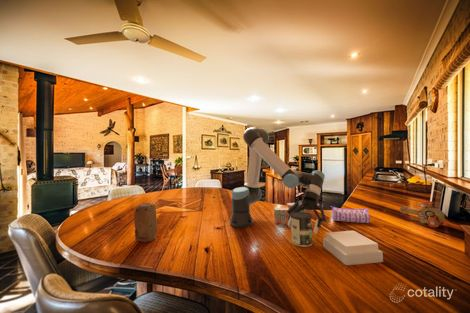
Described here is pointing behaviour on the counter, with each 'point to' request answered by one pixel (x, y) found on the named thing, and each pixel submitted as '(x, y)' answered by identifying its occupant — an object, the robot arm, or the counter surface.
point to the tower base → (353, 256)
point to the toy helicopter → (426, 214)
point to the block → (145, 222)
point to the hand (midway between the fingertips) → (301, 229)
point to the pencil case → (350, 215)
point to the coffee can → (301, 229)
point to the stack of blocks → (284, 214)
